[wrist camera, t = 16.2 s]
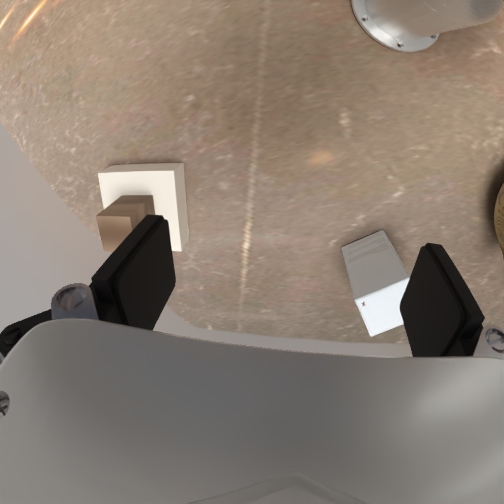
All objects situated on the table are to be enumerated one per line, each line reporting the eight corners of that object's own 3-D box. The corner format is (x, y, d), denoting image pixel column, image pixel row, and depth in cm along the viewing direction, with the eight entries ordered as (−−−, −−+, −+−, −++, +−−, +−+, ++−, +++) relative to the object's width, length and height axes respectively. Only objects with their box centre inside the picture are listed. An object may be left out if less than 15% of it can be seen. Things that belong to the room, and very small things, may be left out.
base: (111, 165, 42) (98, 173, 38) (183, 162, 41) (173, 170, 37) (122, 234, 48) (111, 246, 45) (189, 238, 47) (181, 251, 43)
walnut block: (121, 195, 40) (96, 216, 34) (152, 195, 39) (129, 216, 33) (127, 226, 42) (104, 250, 36) (157, 228, 42) (136, 253, 36)
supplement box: (355, 282, 48) (368, 338, 37) (339, 246, 45) (353, 299, 34) (396, 265, 45) (420, 319, 34) (384, 227, 42) (411, 277, 31)
